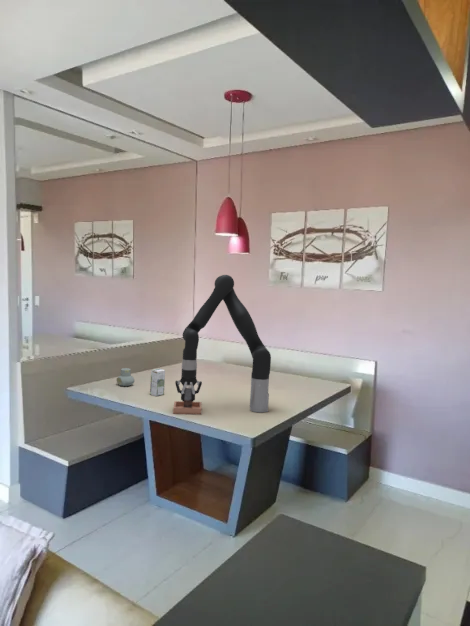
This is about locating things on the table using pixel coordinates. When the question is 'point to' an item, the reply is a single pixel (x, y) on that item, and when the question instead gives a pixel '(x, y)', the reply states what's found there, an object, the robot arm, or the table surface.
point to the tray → (180, 410)
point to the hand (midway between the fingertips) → (187, 400)
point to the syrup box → (157, 382)
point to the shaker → (188, 396)
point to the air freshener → (125, 377)
